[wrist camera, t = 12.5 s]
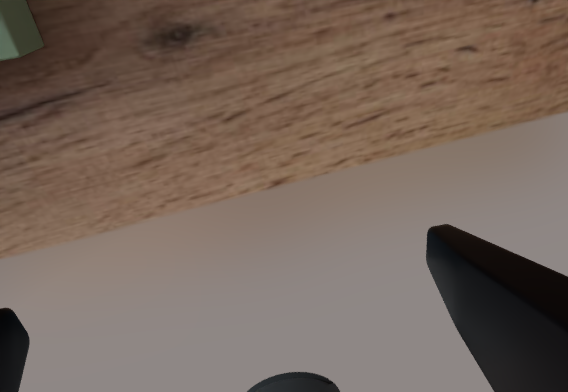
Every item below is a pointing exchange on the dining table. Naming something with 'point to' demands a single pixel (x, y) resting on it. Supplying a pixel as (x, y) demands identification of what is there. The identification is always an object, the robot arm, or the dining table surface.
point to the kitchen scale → (17, 30)
